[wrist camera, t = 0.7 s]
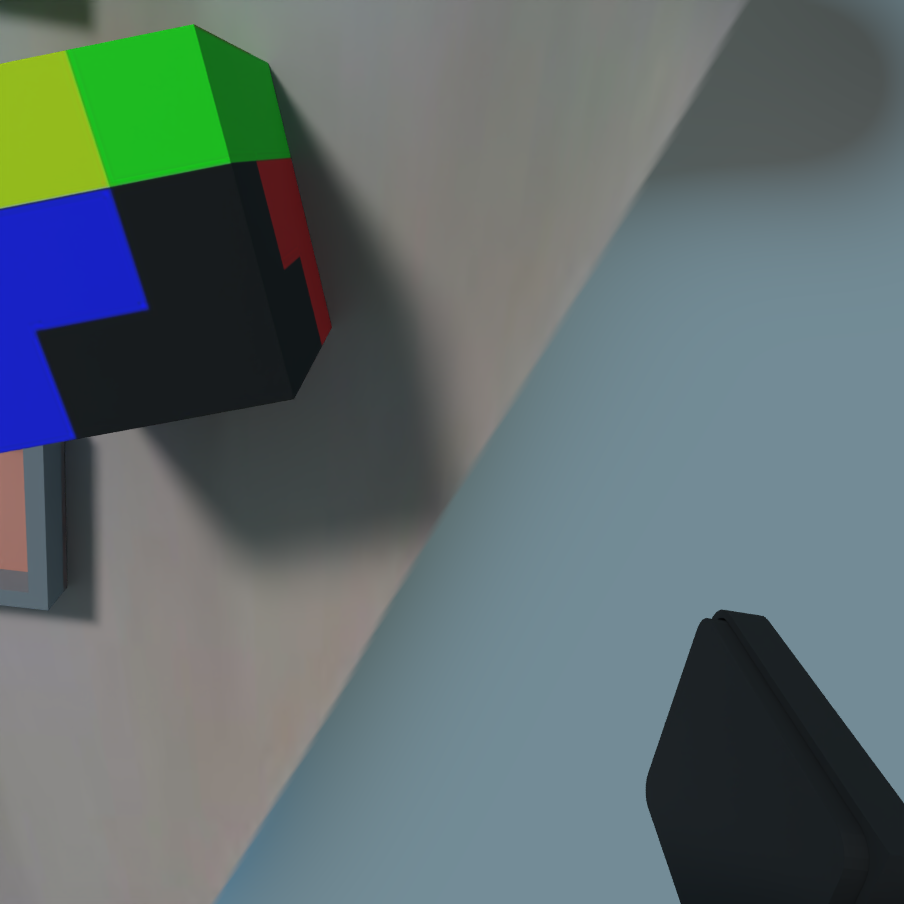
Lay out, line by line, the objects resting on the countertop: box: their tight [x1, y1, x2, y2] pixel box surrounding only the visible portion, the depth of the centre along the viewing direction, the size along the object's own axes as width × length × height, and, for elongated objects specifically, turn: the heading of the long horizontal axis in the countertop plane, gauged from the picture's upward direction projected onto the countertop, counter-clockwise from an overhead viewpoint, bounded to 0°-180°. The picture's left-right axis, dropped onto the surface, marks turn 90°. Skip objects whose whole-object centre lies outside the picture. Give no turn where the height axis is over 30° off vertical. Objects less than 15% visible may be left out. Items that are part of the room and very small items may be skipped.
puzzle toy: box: [0, 24, 332, 453], centre depth 26 cm, size 10×10×10 cm
